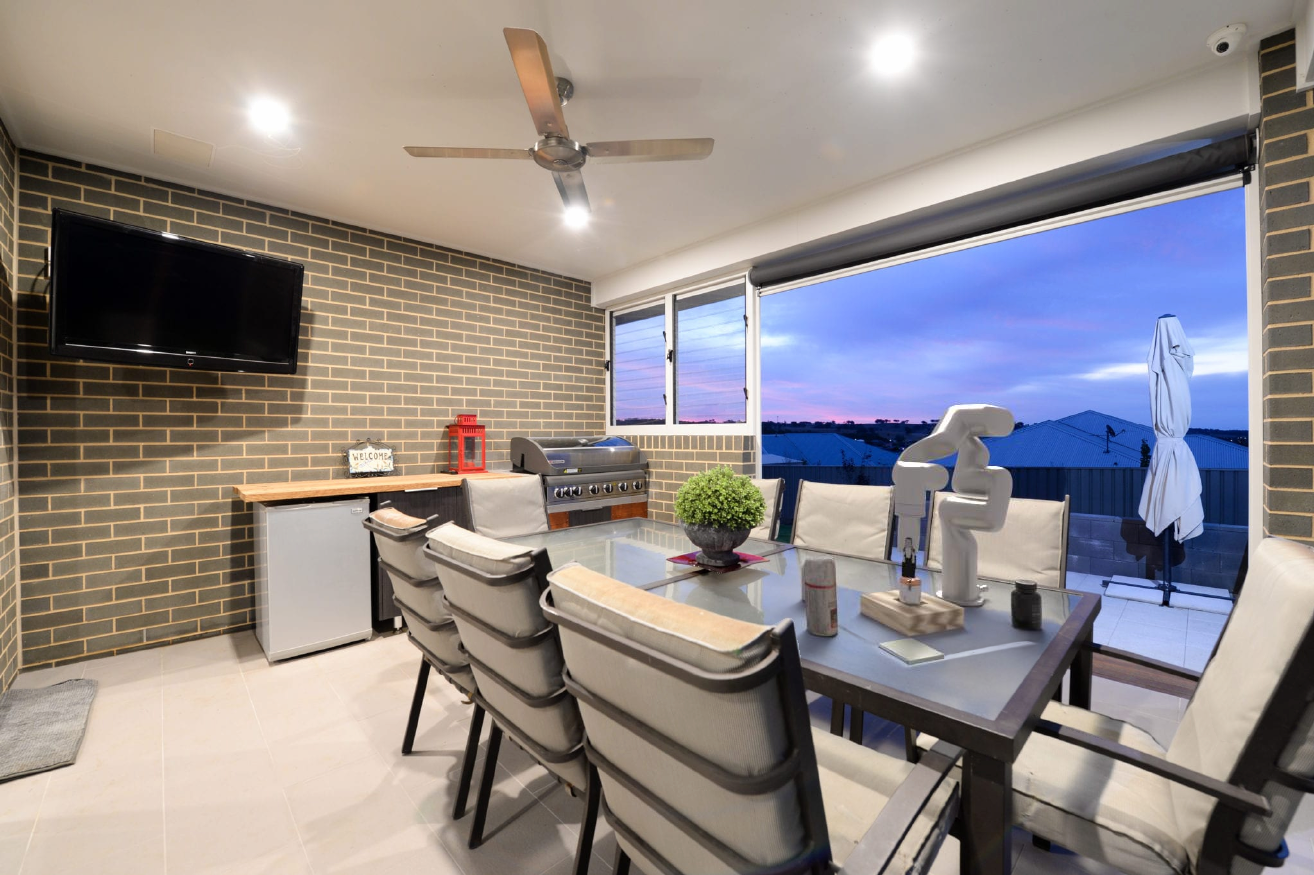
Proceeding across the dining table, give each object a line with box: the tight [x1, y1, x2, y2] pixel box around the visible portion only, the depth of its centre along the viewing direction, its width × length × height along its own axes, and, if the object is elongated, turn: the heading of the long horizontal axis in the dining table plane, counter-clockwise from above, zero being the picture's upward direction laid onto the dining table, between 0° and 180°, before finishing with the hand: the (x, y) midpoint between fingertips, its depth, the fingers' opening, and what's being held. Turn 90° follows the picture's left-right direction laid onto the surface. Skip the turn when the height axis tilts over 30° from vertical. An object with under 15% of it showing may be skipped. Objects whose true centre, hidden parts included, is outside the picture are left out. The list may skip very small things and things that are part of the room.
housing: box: [859, 589, 965, 638], centre depth 145 cm, size 18×18×6 cm
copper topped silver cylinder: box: [898, 576, 922, 606], centre depth 145 cm, size 5×5×11 cm
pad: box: [877, 637, 945, 666], centre depth 126 cm, size 10×10×1 cm
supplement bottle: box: [1010, 579, 1043, 632], centre depth 142 cm, size 7×7×12 cm
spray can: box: [804, 554, 839, 637], centre depth 140 cm, size 8×8×20 cm
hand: (909, 573), depth 144 cm, fingers open, 9 cm apart
